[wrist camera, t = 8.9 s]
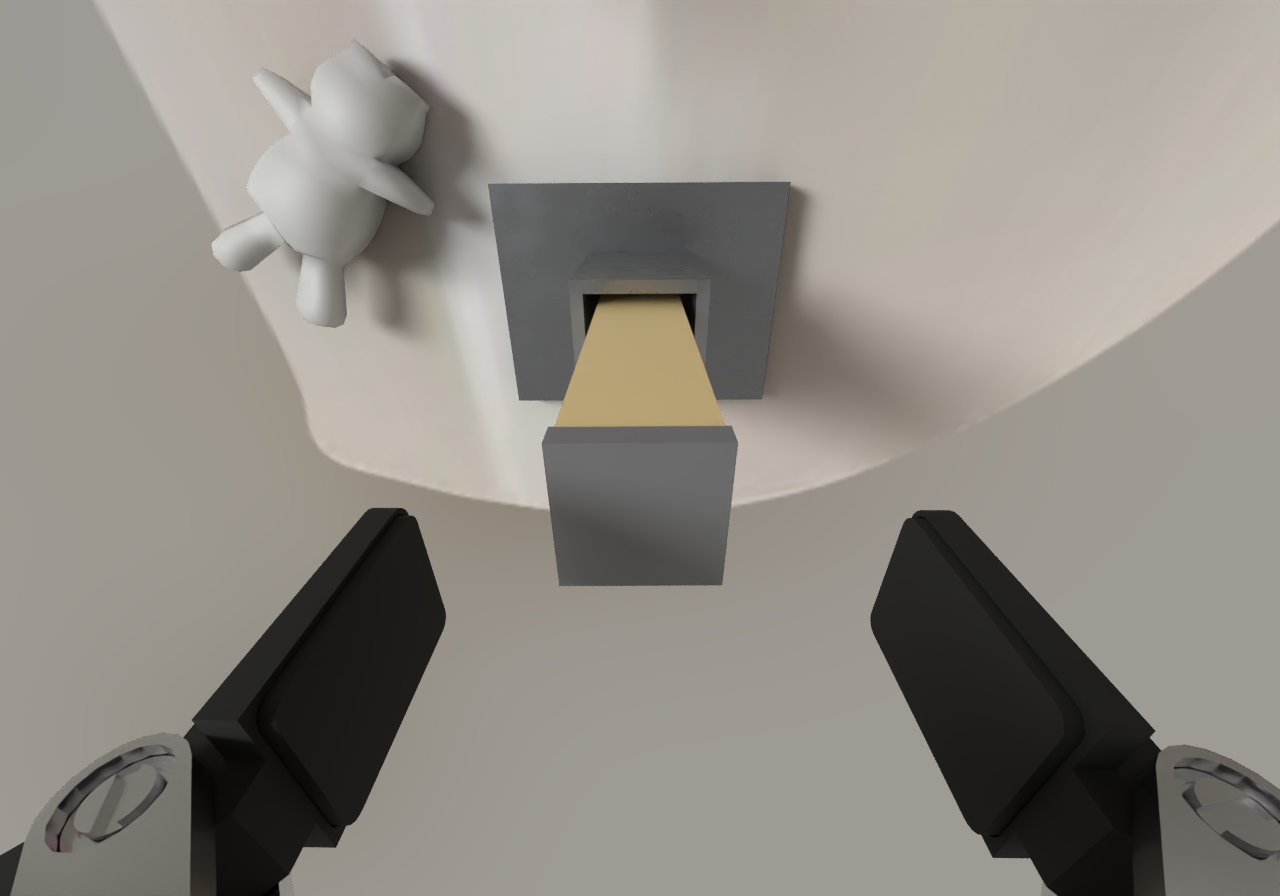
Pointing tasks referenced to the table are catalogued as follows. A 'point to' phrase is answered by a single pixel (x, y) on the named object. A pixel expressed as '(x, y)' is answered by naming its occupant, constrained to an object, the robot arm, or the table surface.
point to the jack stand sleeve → (640, 270)
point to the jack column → (640, 454)
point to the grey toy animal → (330, 175)
